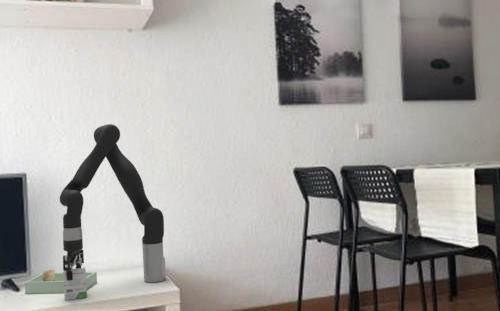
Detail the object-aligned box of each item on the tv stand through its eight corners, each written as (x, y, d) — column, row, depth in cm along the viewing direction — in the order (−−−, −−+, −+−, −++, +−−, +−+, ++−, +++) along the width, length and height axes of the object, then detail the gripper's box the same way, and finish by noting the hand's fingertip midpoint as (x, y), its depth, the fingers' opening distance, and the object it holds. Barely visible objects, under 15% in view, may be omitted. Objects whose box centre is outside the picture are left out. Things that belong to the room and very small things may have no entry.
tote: (97, 282, 232) (96, 272, 232) (82, 292, 216) (82, 280, 216) (43, 284, 234) (42, 273, 234) (25, 293, 219) (24, 282, 219)
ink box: (87, 294, 213) (85, 266, 213) (86, 297, 208) (85, 269, 208) (65, 297, 211) (64, 268, 210) (64, 300, 206) (62, 271, 206)
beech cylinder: (57, 285, 228) (56, 270, 228) (51, 288, 223) (50, 272, 223) (47, 285, 229) (46, 270, 229) (40, 288, 224) (40, 272, 224)
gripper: (74, 241, 202) (75, 282, 202) (88, 235, 216) (90, 273, 216) (55, 241, 202) (57, 282, 202) (71, 235, 217) (73, 273, 217)
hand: (74, 277), depth 209 cm, fingers open, 8 cm apart
